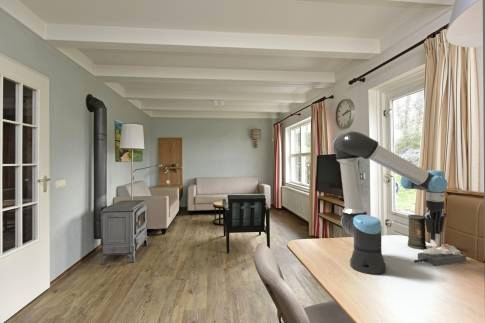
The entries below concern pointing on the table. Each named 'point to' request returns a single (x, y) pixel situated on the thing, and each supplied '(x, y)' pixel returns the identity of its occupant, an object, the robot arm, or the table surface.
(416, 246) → the container
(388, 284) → the table surface
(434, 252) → the rocker
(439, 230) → the robot arm
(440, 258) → the rocker switch panel
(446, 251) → the rocker
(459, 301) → the table surface
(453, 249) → the rocker
